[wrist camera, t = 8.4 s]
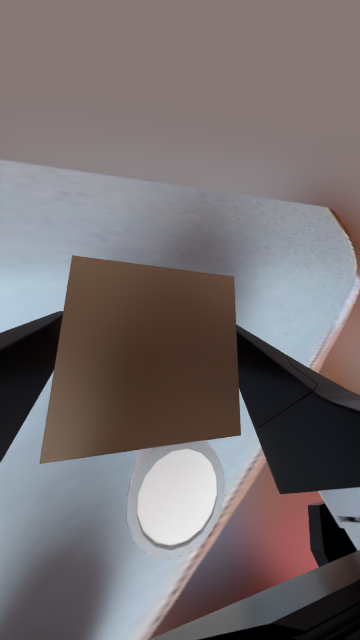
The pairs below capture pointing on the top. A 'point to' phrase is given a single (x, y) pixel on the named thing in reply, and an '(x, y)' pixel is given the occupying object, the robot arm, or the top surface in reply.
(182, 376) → the walnut block
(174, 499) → the white short cylinder
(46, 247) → the top surface
